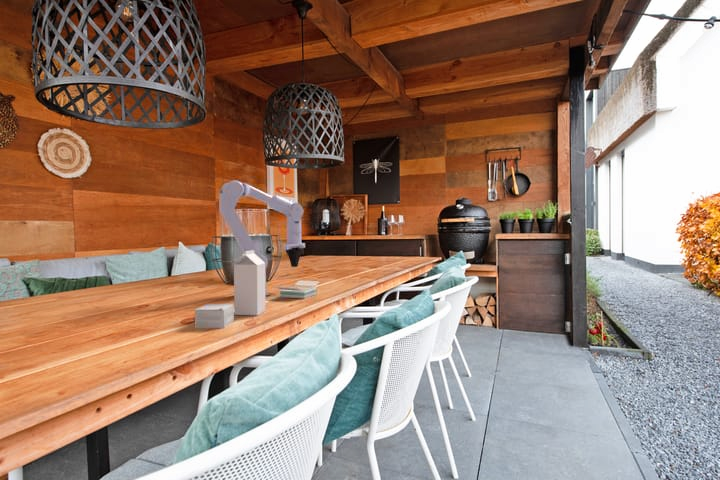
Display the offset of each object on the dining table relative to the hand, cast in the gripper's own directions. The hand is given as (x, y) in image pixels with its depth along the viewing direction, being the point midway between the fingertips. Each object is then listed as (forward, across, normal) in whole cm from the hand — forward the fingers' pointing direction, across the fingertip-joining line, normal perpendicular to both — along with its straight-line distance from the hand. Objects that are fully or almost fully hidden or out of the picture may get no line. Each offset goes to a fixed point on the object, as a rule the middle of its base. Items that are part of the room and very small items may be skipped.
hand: (294, 266), depth 161 cm
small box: (+10, -55, -7) cm, 57 cm away
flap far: (+7, -4, -6) cm, 10 cm away
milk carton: (+10, -40, -8) cm, 42 cm away
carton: (+10, -8, -6) cm, 15 cm away
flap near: (+7, -13, -7) cm, 16 cm away
